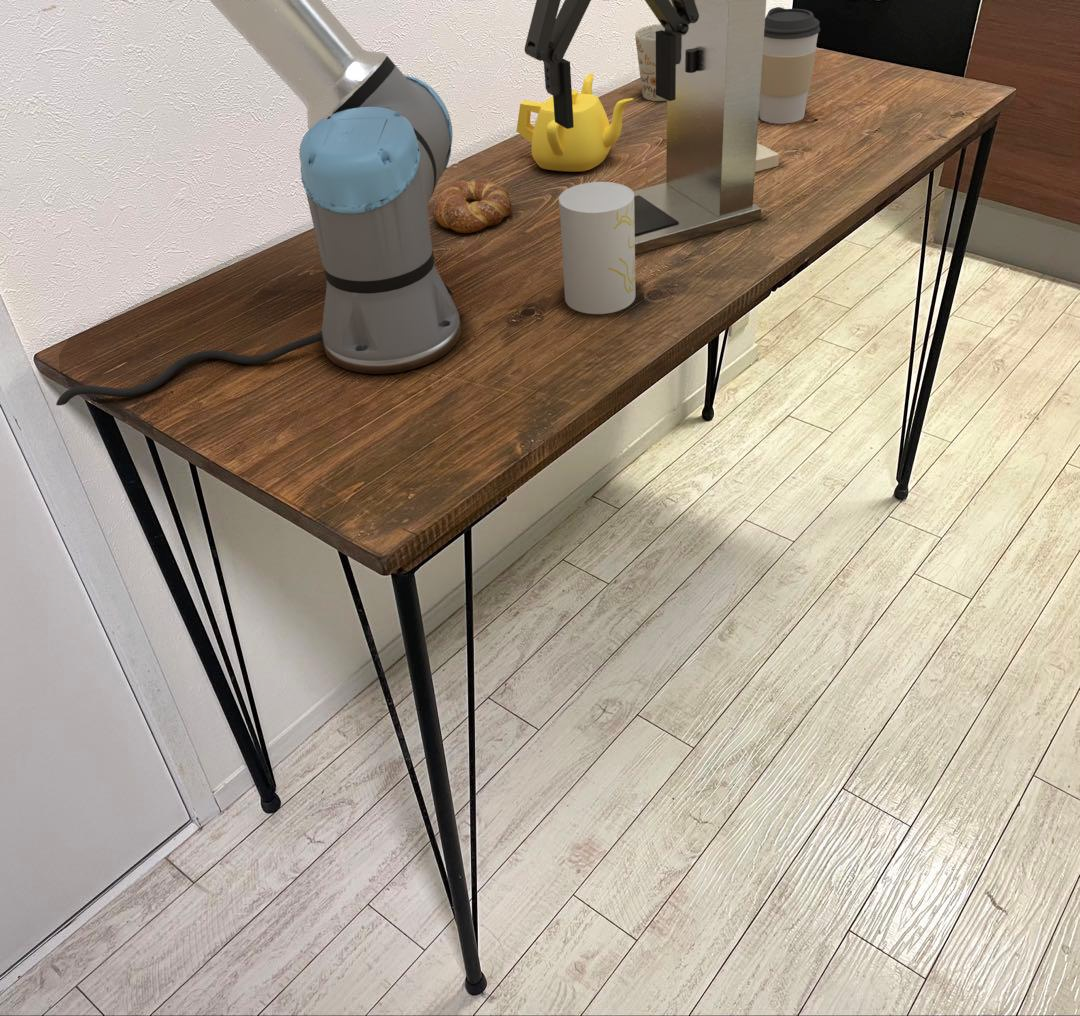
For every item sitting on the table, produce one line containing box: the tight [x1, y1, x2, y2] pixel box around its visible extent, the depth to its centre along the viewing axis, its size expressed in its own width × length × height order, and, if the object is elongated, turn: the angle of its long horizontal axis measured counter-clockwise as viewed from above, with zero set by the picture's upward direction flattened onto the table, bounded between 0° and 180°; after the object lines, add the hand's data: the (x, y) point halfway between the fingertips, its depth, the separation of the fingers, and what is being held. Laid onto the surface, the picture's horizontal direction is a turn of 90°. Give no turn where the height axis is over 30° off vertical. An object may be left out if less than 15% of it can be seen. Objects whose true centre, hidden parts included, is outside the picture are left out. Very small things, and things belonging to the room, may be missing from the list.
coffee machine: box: [632, 0, 767, 256], centre depth 123 cm, size 20×14×29 cm
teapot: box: [516, 73, 634, 173], centre depth 147 cm, size 14×13×10 cm
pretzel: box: [432, 178, 513, 234], centre depth 136 cm, size 12×11×4 cm
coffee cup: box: [759, 6, 821, 125], centre depth 153 cm, size 9×9×15 cm
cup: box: [558, 181, 636, 315], centre depth 114 cm, size 8×8×12 cm
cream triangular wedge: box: [755, 140, 780, 173], centre depth 144 cm, size 10×8×4 cm
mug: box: [634, 23, 667, 102], centre depth 166 cm, size 8×13×10 cm, turn 96°
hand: (615, 111), depth 108 cm, fingers open, 12 cm apart
